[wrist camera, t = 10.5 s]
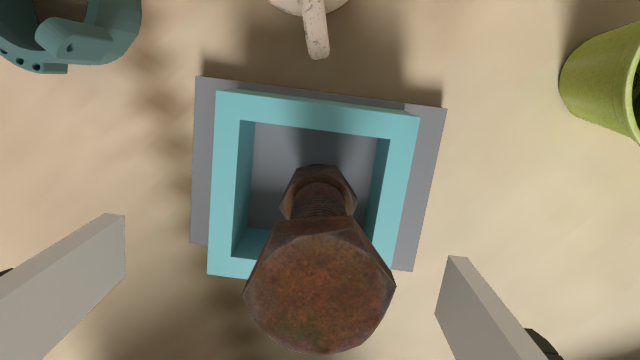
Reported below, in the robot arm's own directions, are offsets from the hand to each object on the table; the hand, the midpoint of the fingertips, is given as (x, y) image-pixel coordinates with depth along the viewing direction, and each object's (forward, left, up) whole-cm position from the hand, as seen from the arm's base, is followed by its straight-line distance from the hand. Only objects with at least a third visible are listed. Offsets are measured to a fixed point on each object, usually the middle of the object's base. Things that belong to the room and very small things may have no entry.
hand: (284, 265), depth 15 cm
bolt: (+1, 0, -14) cm, 14 cm away
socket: (0, 0, -15) cm, 15 cm away
